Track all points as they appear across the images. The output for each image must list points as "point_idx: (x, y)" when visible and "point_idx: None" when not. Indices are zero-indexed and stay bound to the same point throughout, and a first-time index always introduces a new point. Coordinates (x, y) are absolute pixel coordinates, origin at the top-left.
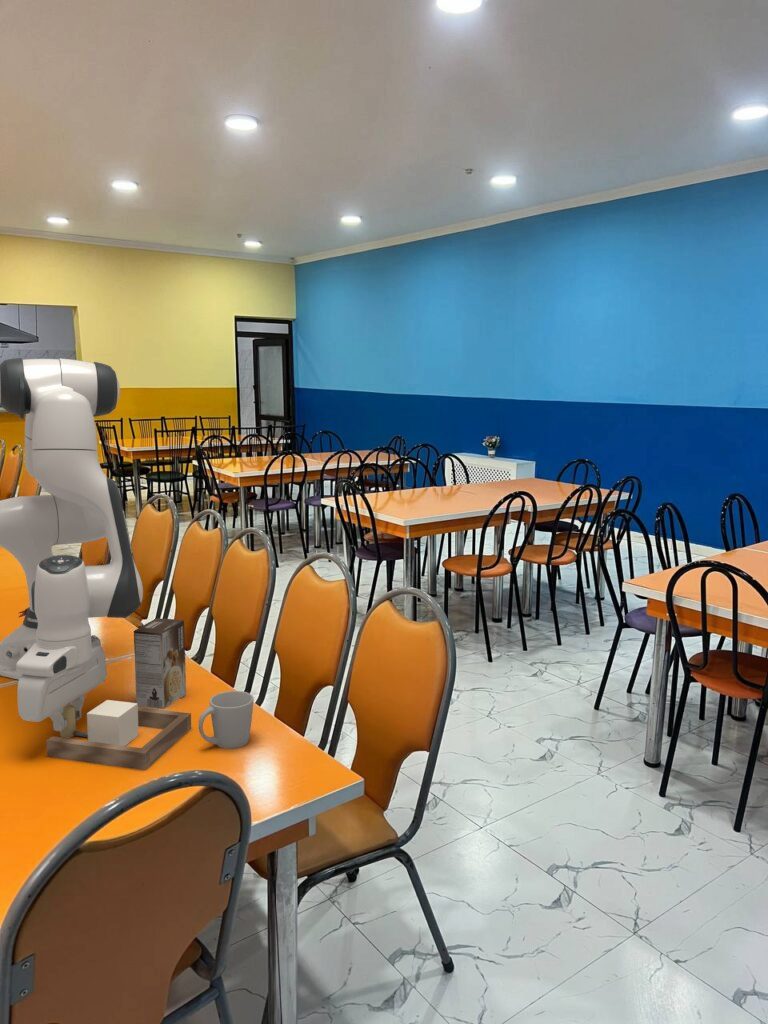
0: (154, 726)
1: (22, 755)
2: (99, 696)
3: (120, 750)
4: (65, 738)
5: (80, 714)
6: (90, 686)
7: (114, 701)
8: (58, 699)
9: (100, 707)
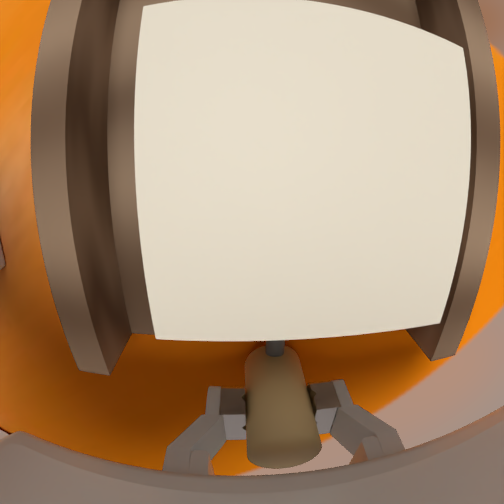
0: (106, 66)
1: (386, 386)
2: (27, 390)
3: (487, 37)
4: (451, 308)
5: (213, 397)
6: (129, 486)
7: (160, 255)
8: (460, 480)
9: (337, 299)
